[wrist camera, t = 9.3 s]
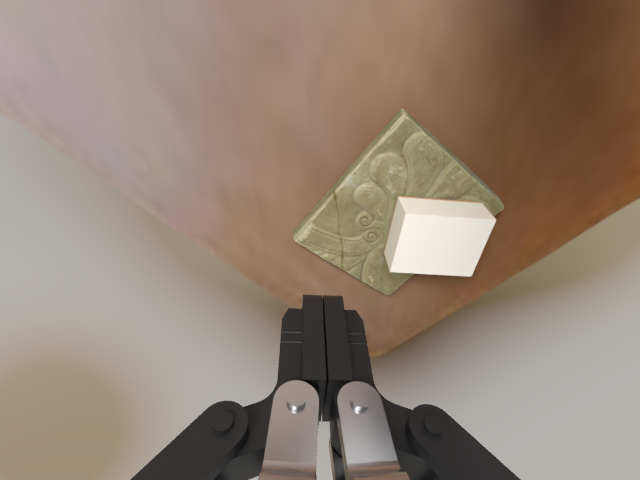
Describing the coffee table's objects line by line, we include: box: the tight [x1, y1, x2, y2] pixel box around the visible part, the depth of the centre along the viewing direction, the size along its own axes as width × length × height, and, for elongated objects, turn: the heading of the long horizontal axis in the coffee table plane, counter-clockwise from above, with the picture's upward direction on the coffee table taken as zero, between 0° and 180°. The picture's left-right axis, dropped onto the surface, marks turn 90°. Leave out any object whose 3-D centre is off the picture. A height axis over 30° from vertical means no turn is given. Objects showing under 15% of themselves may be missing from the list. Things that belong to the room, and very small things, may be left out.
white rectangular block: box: [384, 196, 496, 277], centre depth 42 cm, size 8×4×10 cm
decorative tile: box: [293, 109, 504, 295], centre depth 45 cm, size 19×20×4 cm
